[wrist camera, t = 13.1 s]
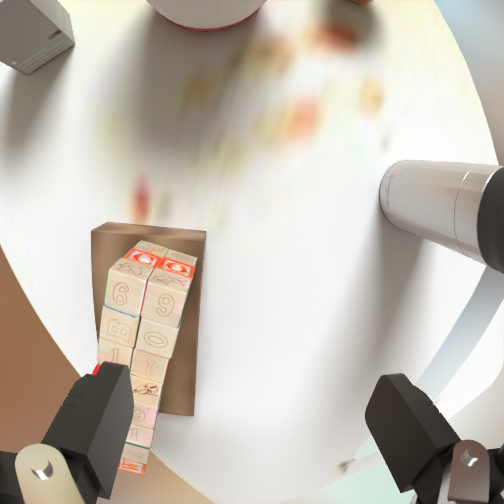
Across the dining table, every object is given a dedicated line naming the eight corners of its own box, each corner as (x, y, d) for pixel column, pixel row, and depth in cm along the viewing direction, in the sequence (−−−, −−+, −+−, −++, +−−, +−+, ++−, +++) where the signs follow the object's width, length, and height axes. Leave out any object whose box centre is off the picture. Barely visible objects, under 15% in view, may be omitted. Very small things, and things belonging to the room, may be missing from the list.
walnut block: (206, 231, 34) (204, 241, 30) (195, 392, 41) (193, 416, 36) (107, 222, 33) (91, 230, 28) (116, 382, 39) (108, 403, 34)
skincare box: (28, 76, 26) (-47, 50, 11) (23, 40, 24) (-42, 6, 9) (79, 43, 26) (15, -7, 11) (72, 8, 24) (17, -45, 9)
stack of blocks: (139, 237, 29) (93, 282, 17) (198, 256, 30) (186, 313, 18) (112, 390, 34) (87, 460, 22) (157, 404, 35) (144, 478, 23)
